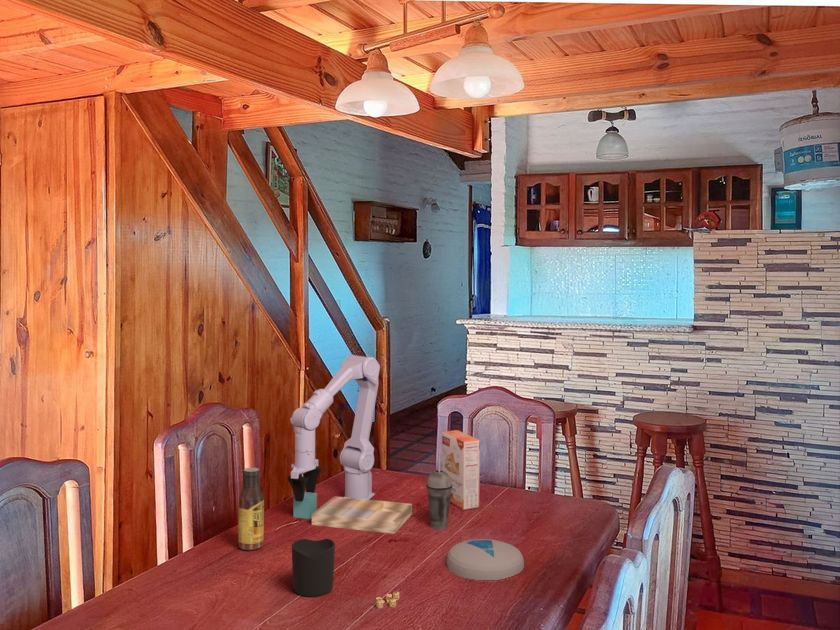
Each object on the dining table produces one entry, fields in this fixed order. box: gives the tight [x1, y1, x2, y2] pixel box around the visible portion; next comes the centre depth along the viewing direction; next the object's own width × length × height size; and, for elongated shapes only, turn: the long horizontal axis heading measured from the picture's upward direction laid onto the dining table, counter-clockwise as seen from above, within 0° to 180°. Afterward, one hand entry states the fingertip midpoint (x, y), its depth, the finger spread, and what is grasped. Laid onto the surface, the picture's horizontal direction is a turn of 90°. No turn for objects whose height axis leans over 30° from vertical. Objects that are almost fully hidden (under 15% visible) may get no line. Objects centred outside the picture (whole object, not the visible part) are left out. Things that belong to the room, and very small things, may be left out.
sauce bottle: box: [237, 467, 265, 551], centre depth 186 cm, size 7×6×20 cm
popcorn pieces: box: [375, 590, 400, 609], centre depth 156 cm, size 5×5×2 cm
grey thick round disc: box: [446, 538, 525, 581], centre depth 176 cm, size 18×18×5 cm
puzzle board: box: [311, 495, 413, 535], centre depth 207 cm, size 24×16×3 cm
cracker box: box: [441, 429, 481, 511], centre depth 222 cm, size 14×6×21 cm, turn 25°
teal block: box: [292, 491, 318, 520], centre depth 210 cm, size 5×5×6 cm
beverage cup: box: [425, 455, 453, 531], centre depth 201 cm, size 7×7×20 cm
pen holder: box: [291, 538, 336, 598], centre depth 162 cm, size 9×9×10 cm
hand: (304, 497), depth 210 cm, fingers open, 7 cm apart
